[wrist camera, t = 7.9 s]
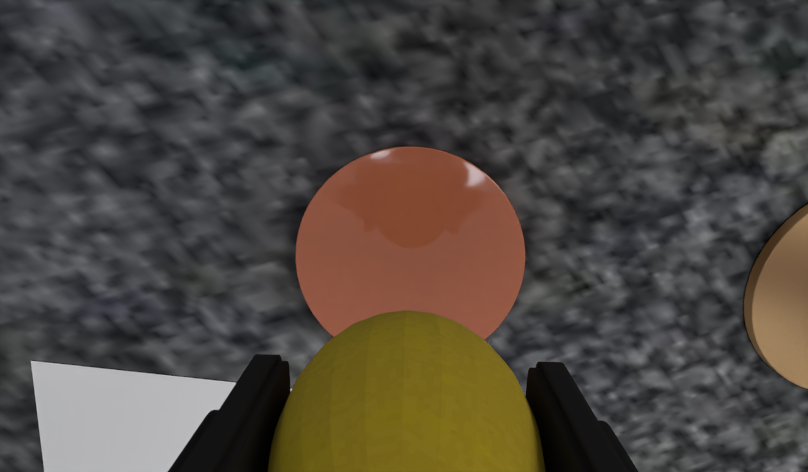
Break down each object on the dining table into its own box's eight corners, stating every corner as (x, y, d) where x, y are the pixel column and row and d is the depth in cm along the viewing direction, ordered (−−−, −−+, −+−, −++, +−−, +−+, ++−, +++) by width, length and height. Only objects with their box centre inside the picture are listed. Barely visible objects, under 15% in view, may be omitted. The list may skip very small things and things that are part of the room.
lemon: (321, 256, 13) (179, 479, 5) (517, 278, 13) (676, 531, 5) (310, 423, 14) (187, 797, 6) (486, 442, 14) (573, 835, 6)
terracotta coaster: (293, 143, 21) (289, 144, 20) (532, 148, 21) (536, 149, 20) (302, 357, 24) (299, 363, 23) (513, 362, 24) (515, 369, 23)
